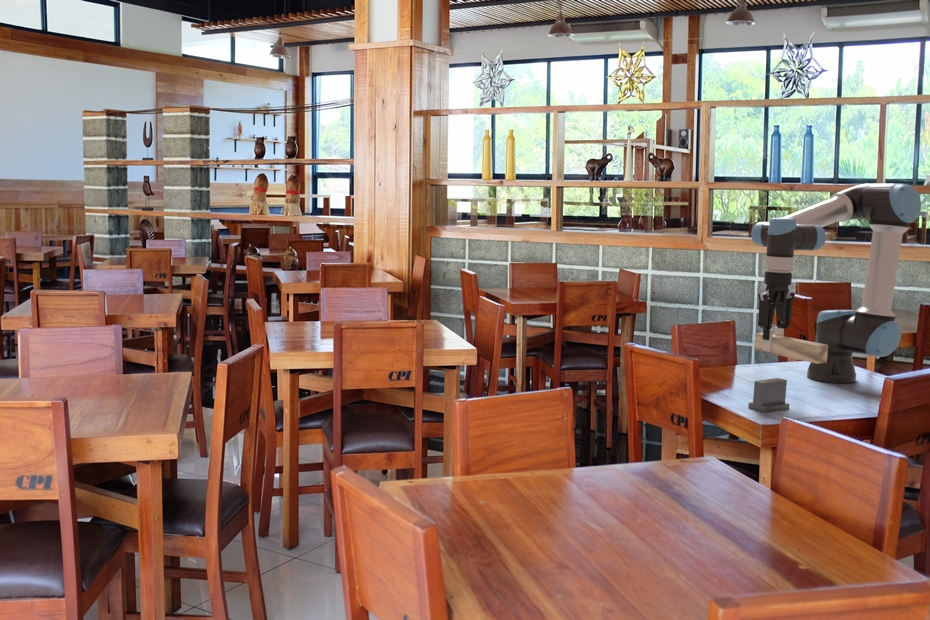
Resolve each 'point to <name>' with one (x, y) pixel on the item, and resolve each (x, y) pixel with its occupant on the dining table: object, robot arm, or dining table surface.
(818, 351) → the ash bar
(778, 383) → the gray pedestal stand
